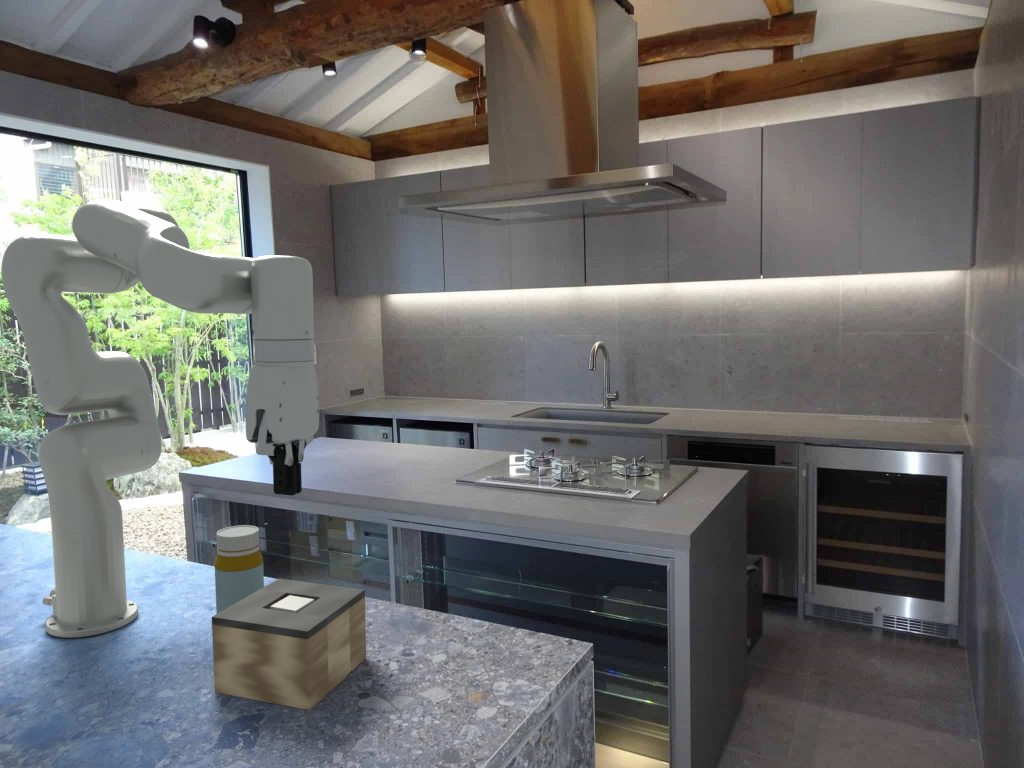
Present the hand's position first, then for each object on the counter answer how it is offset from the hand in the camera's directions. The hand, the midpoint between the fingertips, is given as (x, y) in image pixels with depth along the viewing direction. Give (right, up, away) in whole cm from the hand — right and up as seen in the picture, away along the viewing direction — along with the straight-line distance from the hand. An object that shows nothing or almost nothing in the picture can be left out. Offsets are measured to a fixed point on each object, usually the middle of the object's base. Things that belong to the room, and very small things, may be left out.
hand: (287, 493), depth 95 cm
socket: (0, -25, +2) cm, 25 cm away
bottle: (-13, -23, +18) cm, 32 cm away
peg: (0, -25, +2) cm, 25 cm away
